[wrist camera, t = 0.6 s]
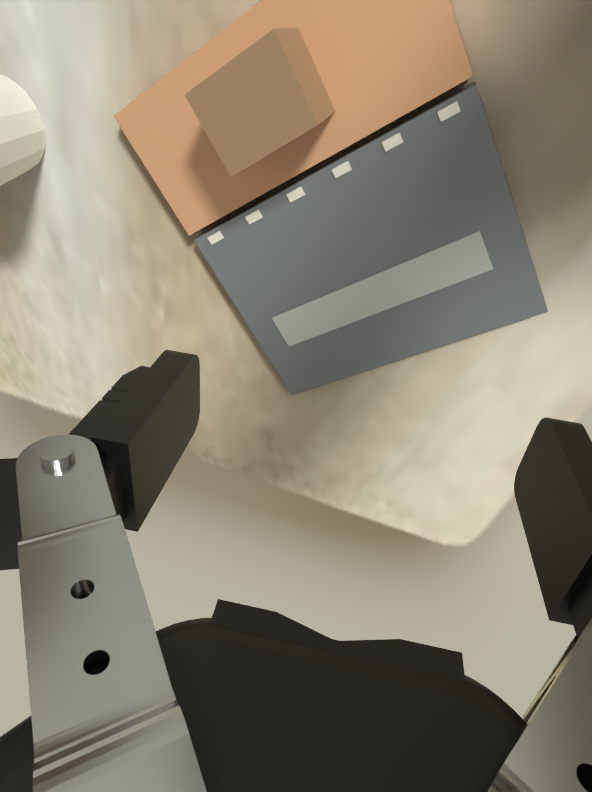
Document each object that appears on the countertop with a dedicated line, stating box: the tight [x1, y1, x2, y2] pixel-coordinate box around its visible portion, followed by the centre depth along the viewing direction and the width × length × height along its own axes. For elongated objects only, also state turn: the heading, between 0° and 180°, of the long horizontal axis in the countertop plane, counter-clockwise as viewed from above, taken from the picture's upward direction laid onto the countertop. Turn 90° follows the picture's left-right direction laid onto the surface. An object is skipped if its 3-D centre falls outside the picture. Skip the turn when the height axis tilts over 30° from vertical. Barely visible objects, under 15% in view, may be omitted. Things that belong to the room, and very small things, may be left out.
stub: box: [114, 0, 473, 235], centre depth 25 cm, size 18×8×6 cm, turn 119°
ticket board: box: [194, 82, 548, 395], centre depth 31 cm, size 18×13×1 cm
